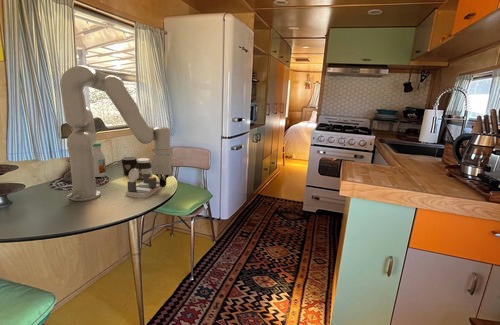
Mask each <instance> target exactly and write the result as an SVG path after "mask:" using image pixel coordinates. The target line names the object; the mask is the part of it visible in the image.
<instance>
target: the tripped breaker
mask: <svg viewBox="0 0 500 325" xmlns="http://www.w3.org/2000/svg"><path fill="white" fill-rule="evenodd" d="M156 181H157V176H153V175H152V176H151V177H149V187H153V188H154V187H156V186H157V185H156Z"/></svg>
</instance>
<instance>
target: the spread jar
mask: <svg viewBox="0 0 500 325" xmlns="http://www.w3.org/2000/svg"><path fill="white" fill-rule="evenodd" d="M136 161H137V163H136V164H135V166H134V169H132V170H130V172H129V175H128V179H129V181H130V180H133V181H137V180H139V181H143V173H145V172H147V173H151V176H152V177H153V176H154V175H153V174H152V171H151V165H152V162H150V158H147V157H140V158H137V160H136Z"/></svg>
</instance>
